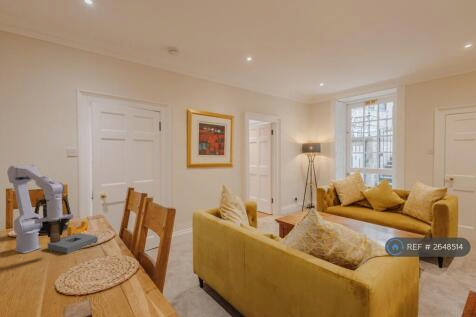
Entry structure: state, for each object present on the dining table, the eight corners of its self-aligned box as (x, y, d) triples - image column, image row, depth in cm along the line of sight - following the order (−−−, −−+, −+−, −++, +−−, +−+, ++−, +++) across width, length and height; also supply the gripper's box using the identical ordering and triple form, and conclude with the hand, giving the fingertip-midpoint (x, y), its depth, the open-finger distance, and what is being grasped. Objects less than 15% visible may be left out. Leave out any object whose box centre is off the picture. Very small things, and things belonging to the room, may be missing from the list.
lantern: (33, 238, 133) (32, 187, 132) (31, 232, 143) (29, 185, 142) (75, 229, 147) (74, 183, 146) (69, 224, 158) (68, 181, 157)
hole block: (47, 248, 118) (47, 243, 118) (79, 237, 133) (78, 232, 133) (67, 253, 112) (67, 247, 112) (97, 241, 127) (97, 236, 127)
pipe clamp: (81, 230, 146) (81, 220, 146) (87, 230, 146) (87, 220, 145) (64, 237, 135) (64, 226, 134) (71, 237, 134) (71, 227, 134)
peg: (48, 242, 109) (47, 223, 109) (57, 239, 113) (57, 221, 113) (53, 243, 108) (52, 225, 108) (62, 240, 111) (61, 222, 111)
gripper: (33, 212, 102) (34, 241, 103) (73, 207, 111) (73, 234, 112) (35, 209, 108) (36, 237, 108) (72, 204, 117) (73, 230, 117)
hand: (55, 235), depth 110 cm, fingers closed on peg, 4 cm apart
